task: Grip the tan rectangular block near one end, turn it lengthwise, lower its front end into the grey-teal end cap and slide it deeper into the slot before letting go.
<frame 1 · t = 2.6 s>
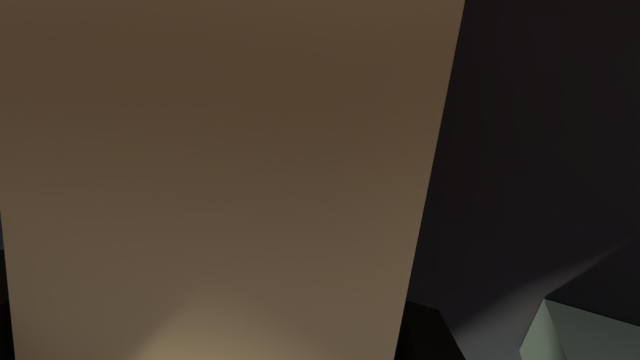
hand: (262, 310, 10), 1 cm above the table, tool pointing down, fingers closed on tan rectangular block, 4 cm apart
tan rectangular block: (304, 34, 10), on the table, touching gripper
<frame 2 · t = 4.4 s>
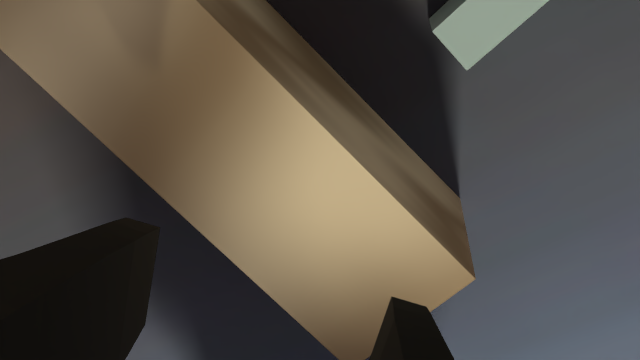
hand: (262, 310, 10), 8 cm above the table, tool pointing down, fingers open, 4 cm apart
tan rectangular block: (251, 77, 17), on the table
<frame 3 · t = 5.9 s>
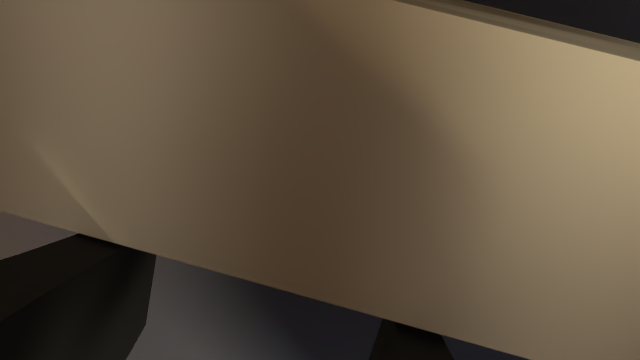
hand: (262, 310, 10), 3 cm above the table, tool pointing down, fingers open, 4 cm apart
tan rectangular block: (375, 85, 12), on the table
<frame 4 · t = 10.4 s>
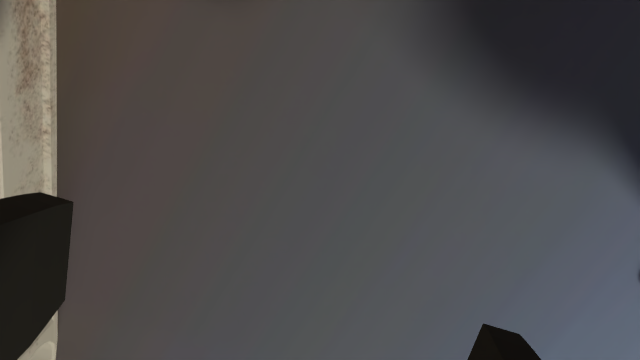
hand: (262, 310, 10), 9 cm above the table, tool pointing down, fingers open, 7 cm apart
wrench: (68, 20, 19), on the table
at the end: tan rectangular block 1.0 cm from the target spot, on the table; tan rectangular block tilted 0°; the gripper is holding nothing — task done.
